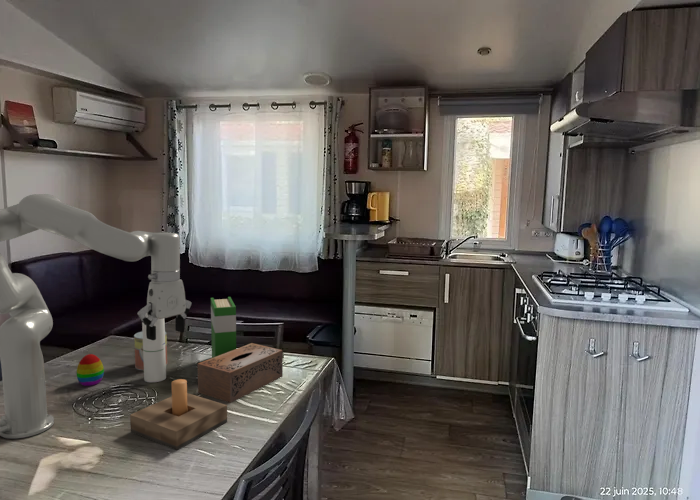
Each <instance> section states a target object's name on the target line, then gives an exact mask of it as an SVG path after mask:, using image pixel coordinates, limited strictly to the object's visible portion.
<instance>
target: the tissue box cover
mask: <svg viewBox="0 0 700 500" xmlns="http://www.w3.org/2000/svg"><path fill="white" fill-rule="evenodd" d="M283 352H284V351H283V350H282V349H279V348H274V347H270V346H267V345H262V344H258V343H253V342H251V343H248V344H246V345H243V346H241V347H236V349H235V350H232V351H230V352H227V353H224V354H222V355H219V356H216V357H214V358H212V357H211V358H208V359H206V360H203V361H201V362H198V363H197V393H199V394H202V395H205V396H209V397H211V398H214V399H218V400H221V401H223V402H227V403H229V404H230V403H233V402H235V401H237V400H239V399H240V398H242V397H245V396H246V395H249V394H250V393H253V392H255V391H257V390H258V389H261V388H262V387H265V386H267V385H268V384H271V383H273V382H274V380H275V381H276V380H279V379H281V378H282V377H283V376H284V374H283V369H284V368H283V367H284V365H283V363H284V362H283V359H284V358H283V356H284V355H283V354H284V353H283ZM280 377H281V378H280ZM278 378H279V379H278Z"/></svg>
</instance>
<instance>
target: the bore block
mask: <svg viewBox="0 0 700 500" xmlns="http://www.w3.org/2000/svg"><path fill="white" fill-rule="evenodd" d="M187 411H188V412H187V413H185V414H183V415H181V416H179V417H178V416H175V415H173V414H172V395H171V396H169V397H167V398H165V399H163V400H160V401H158V402H156V403H153V404H150V405H148V406H147V407H143V408H142V409H140V410H138V411H136V412H133V413H131V414H129V421H130V424H129V425H130V433H132V434H134V435H137V436H140V437H141V438H144V439H148V440H149V441H153V442H155V443H158V444H159V445H162V446H165V447H168V448H170V449H173V450H175V451H179V449H182V448H183V447H185V446H187V445H188V444H191V443H193V442H195V441H196V440H198V439H199V438H201V437H203V436H205V435H206V434H209V433H210V432H212V431H214V430H215V429H217V428H218V427H221V426H223V425H224V424H226V423H228V404H224V403H221V402H218V401H215V400H211V399H208V398H205V397H201V396H199V395H195V394H192V393H188V392H187Z"/></svg>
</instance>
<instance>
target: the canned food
mask: <svg viewBox="0 0 700 500" xmlns="http://www.w3.org/2000/svg"><path fill="white" fill-rule="evenodd" d="M133 338H134V363H135V367H134V368H135V369H136V370H139V371H144V359H143V331H142V330H141V331H138V332H136V333H135V334H134V335H133ZM167 341H168V337H167V331H166V330H165V353H166V366H167V365H168V348H167V346H168V344H167Z"/></svg>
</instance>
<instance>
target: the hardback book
mask: <svg viewBox="0 0 700 500" xmlns="http://www.w3.org/2000/svg"><path fill="white" fill-rule="evenodd" d="M236 307H237V305H235V303H234V301H233V299H232V297H231V296H227V298H222V299H220V298H219V299H215V298H214V297H210V319H211V320H210V325H211V326H210V327H211V328H210V329H211V330H210V331H211V332H210V333H211V336H210V337H211V358H214V357H216V356H219V355H222V354H224V353H227V352H230V351H232V350H235V349H237V308H236Z"/></svg>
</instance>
